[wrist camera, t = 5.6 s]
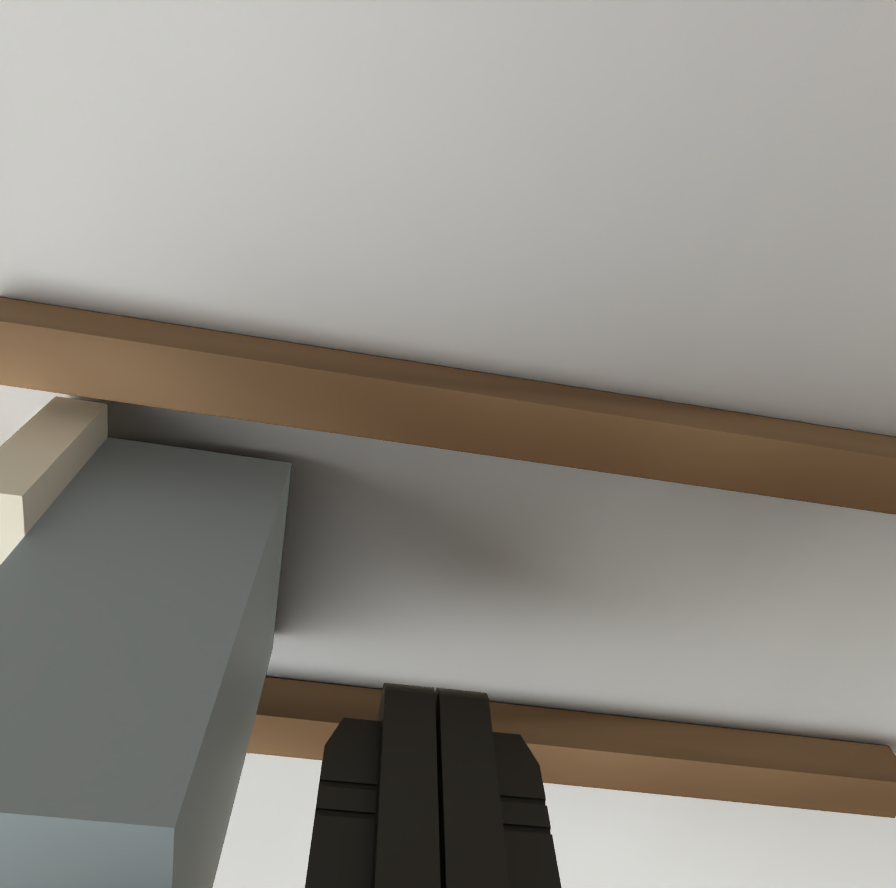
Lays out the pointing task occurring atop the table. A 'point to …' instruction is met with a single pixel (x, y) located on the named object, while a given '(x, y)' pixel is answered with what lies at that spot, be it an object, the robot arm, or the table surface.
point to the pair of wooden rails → (509, 436)
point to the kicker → (128, 649)
